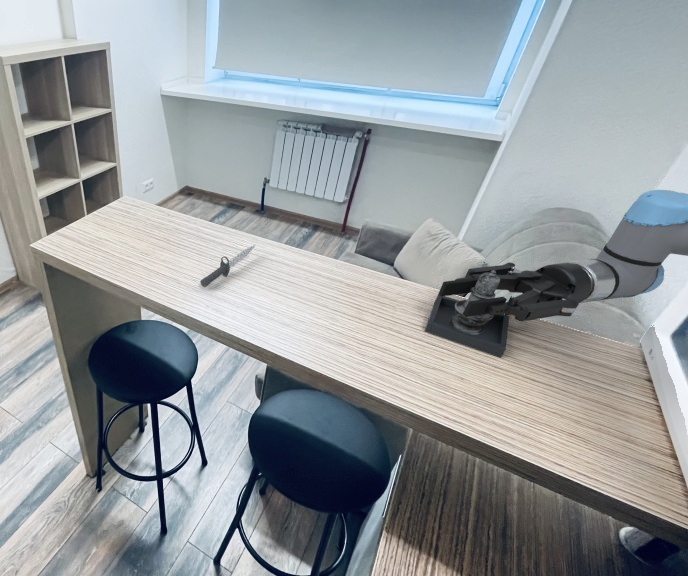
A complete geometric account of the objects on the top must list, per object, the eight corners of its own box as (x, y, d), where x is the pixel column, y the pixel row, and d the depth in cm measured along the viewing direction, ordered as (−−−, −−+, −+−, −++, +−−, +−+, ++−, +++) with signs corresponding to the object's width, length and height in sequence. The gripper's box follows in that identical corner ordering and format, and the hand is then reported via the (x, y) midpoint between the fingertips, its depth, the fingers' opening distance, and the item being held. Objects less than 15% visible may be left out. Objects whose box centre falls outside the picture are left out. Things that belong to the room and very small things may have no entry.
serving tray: (504, 324, 75) (509, 315, 74) (500, 357, 68) (506, 348, 67) (434, 302, 81) (438, 294, 80) (424, 331, 74) (428, 322, 73)
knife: (250, 251, 97) (252, 233, 94) (259, 254, 96) (260, 236, 93) (198, 289, 87) (198, 270, 84) (207, 294, 85) (207, 275, 82)
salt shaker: (490, 338, 71) (522, 281, 64) (453, 333, 72) (481, 277, 66) (478, 317, 76) (507, 262, 69) (443, 313, 77) (468, 259, 70)
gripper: (610, 332, 68) (487, 351, 64) (516, 273, 82) (412, 286, 79) (639, 295, 63) (508, 314, 60) (534, 240, 78) (425, 253, 75)
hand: (454, 298), depth 70 cm, fingers open, 5 cm apart
